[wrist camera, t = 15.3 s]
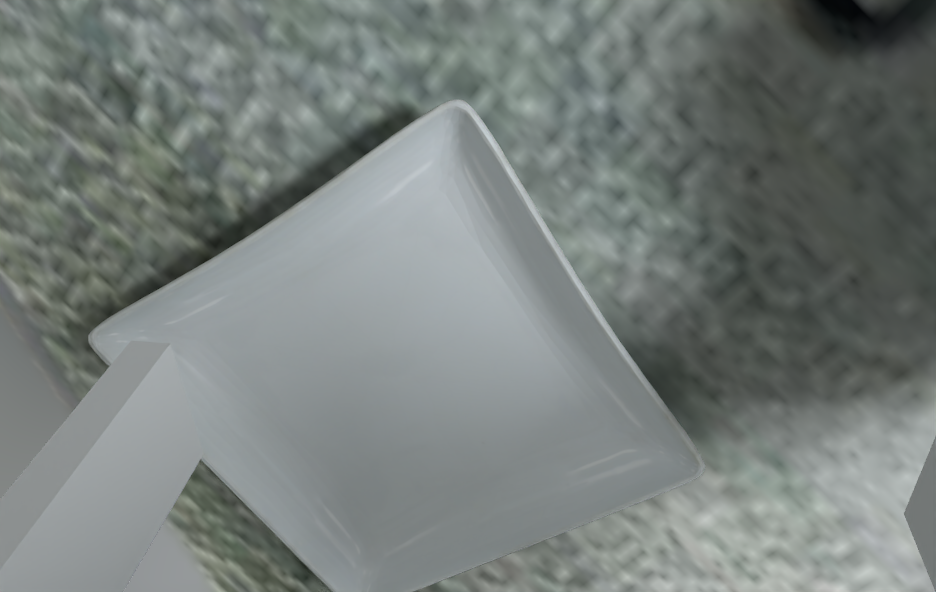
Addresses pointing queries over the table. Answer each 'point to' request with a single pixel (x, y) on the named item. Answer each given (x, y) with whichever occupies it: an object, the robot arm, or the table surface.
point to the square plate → (410, 370)
